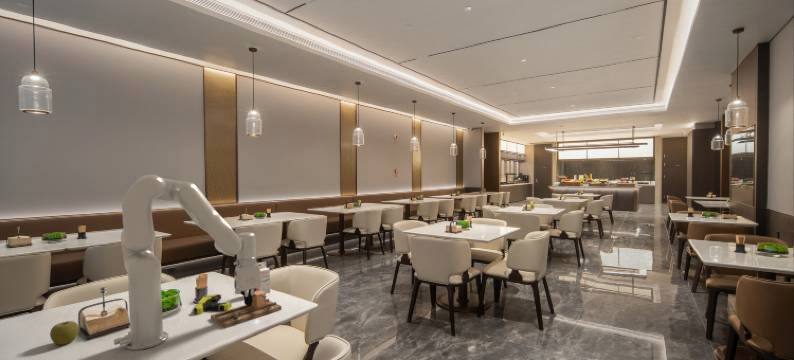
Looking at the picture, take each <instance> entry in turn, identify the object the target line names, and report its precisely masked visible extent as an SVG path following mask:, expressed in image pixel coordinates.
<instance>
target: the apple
mask: <svg viewBox="0 0 794 360" xmlns="http://www.w3.org/2000/svg"><path fill="white" fill-rule="evenodd" d="M78 334H79V325H78V323H77V322H75V321H74V320H68V321H62V322H59V323H57V324H55V325H53V327H52V328H51V329H50V333H49V336H50V339H51V341H52V342H53V343H54V344H55V345H59V346H64V345H68V344H70V343H73V341H75V339H76V338H77V336H78Z"/></svg>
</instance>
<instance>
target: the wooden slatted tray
mask: <svg viewBox="0 0 794 360" xmlns="http://www.w3.org/2000/svg"><path fill="white" fill-rule="evenodd" d="M281 310H282V305H280V304H278V303H277V302H276V301H275V302H274V301H272V300H270V299H269V298H266V305H264V306H261V307H257V308H254V307H252V305H250V306H247V305H245V304H244V305H240V306H238V307H233V308H230V309H228V310H227V311H219V312H217V313H213V314H211V315H210V319H211V320H212V321H213V322H215V323H216V324H218V325H220V326H221V327H222V328H224V329H226V328H230V327H233V326H236V325H239V324H242V323H245V322H248V321H251V320H254V319H256V318H260V317H262V316H266V315H269V314H272V313H277V312H278V311H281Z"/></svg>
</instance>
